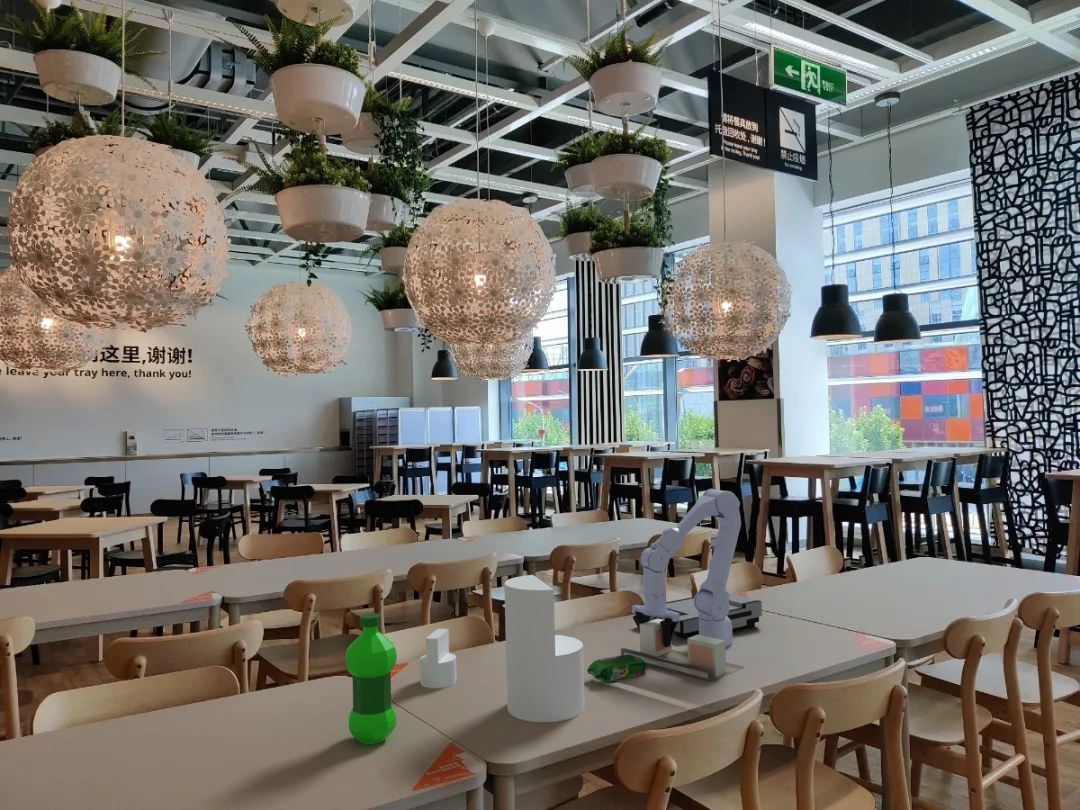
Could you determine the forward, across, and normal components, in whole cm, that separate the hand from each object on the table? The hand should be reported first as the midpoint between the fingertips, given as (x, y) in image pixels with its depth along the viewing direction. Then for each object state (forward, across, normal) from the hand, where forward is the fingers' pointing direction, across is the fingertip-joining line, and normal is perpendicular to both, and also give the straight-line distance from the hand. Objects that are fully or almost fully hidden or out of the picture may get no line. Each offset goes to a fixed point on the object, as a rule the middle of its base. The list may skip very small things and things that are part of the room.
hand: (656, 643), depth 206 cm
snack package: (+4, +4, -21) cm, 22 cm away
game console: (+4, -7, +31) cm, 32 cm away
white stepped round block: (+4, +4, -46) cm, 46 cm away
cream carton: (+2, 0, 0) cm, 2 cm away
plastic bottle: (+4, -10, -82) cm, 83 cm away
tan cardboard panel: (+3, +10, -2) cm, 11 cm away
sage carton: (+2, +19, -4) cm, 20 cm away
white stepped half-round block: (+4, -28, -52) cm, 59 cm away
